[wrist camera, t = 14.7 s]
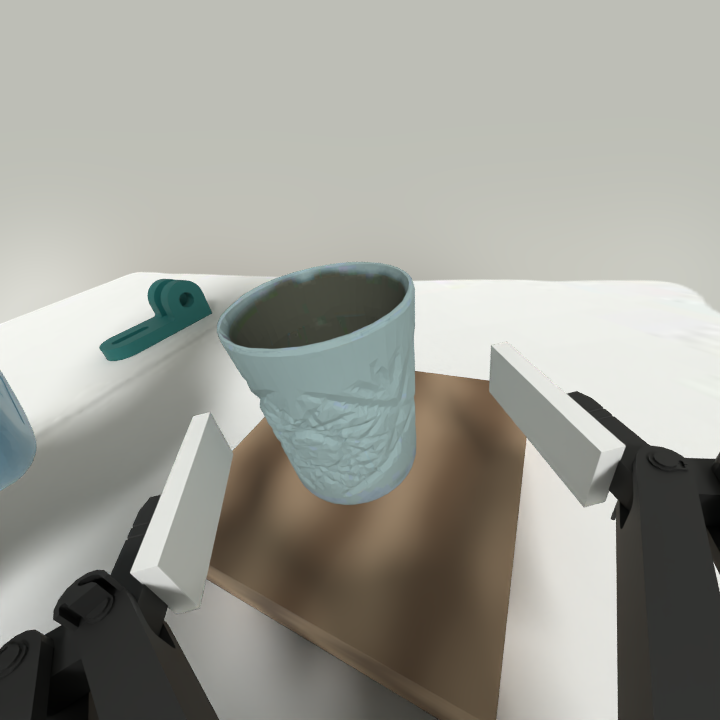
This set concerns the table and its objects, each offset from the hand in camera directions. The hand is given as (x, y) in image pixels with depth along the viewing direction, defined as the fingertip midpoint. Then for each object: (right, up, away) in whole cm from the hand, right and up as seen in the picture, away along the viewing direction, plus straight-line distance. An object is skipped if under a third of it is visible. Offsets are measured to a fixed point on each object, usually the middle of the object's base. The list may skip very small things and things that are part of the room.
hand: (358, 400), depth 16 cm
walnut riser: (+1, -8, +10) cm, 13 cm away
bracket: (-36, +6, +45) cm, 58 cm away
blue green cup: (0, -5, +8) cm, 9 cm away
